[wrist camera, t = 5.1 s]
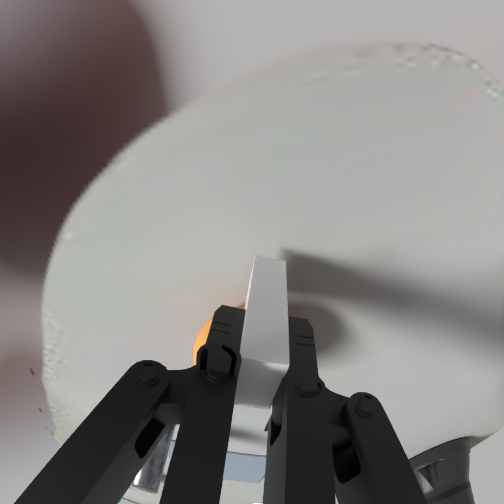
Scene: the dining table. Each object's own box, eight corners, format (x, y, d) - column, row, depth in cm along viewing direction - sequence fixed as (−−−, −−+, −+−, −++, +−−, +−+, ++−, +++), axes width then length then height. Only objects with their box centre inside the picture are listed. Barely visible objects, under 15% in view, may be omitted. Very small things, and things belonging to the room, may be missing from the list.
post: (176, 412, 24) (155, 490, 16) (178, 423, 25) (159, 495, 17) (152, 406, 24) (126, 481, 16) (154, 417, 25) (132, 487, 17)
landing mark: (277, 457, 28) (277, 458, 28) (257, 482, 34) (257, 483, 34) (164, 438, 28) (164, 439, 27) (172, 468, 34) (172, 468, 34)
